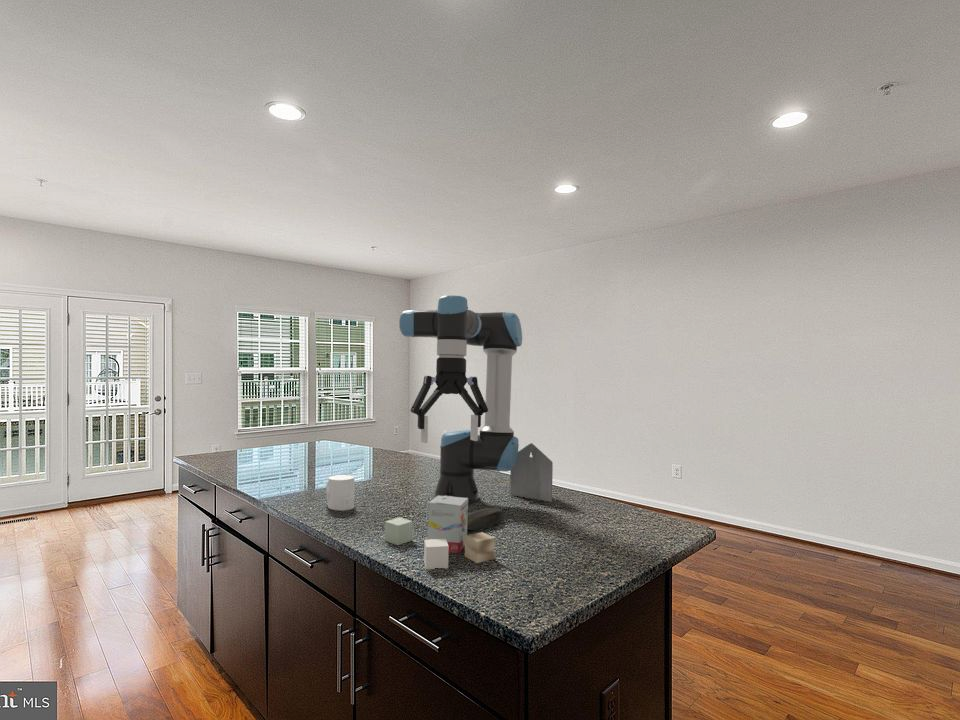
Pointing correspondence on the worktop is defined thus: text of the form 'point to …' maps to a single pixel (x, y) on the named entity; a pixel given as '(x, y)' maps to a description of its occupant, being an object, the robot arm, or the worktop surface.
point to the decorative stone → (484, 518)
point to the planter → (532, 475)
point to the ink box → (448, 521)
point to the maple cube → (479, 547)
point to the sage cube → (398, 531)
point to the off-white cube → (436, 553)
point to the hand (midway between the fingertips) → (449, 441)
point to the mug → (340, 492)
